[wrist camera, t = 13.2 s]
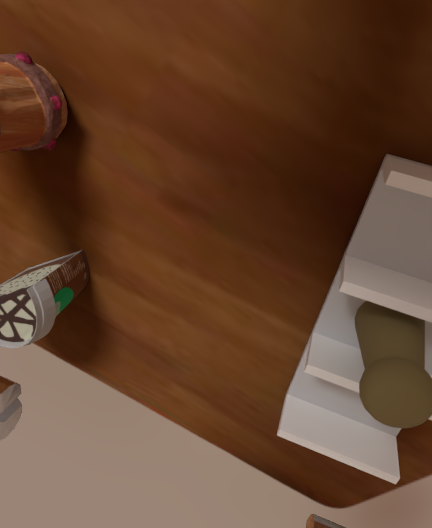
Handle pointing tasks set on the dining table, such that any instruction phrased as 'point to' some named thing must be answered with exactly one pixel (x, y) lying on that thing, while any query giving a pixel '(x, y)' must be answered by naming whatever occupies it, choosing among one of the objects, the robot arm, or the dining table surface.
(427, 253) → the slot rack
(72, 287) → the food container
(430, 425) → the dining table surface
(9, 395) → the robot arm
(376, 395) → the cork
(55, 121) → the mug
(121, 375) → the dining table surface
